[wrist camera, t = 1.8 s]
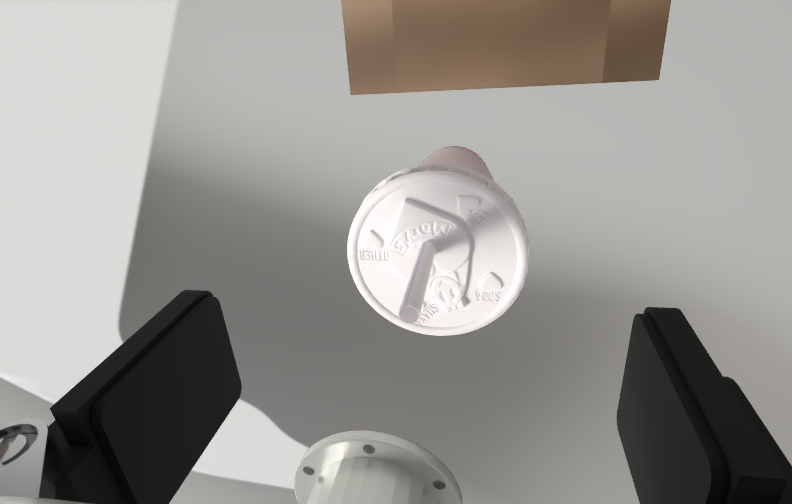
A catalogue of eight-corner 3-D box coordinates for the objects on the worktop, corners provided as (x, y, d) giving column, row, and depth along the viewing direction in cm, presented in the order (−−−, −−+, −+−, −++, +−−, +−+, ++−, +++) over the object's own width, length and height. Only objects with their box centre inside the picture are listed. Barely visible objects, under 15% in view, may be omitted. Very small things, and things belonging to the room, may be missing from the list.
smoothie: (490, 97, 23) (489, 177, 10) (534, 213, 25) (578, 397, 12) (373, 149, 25) (258, 267, 13) (423, 253, 27) (365, 443, 15)
